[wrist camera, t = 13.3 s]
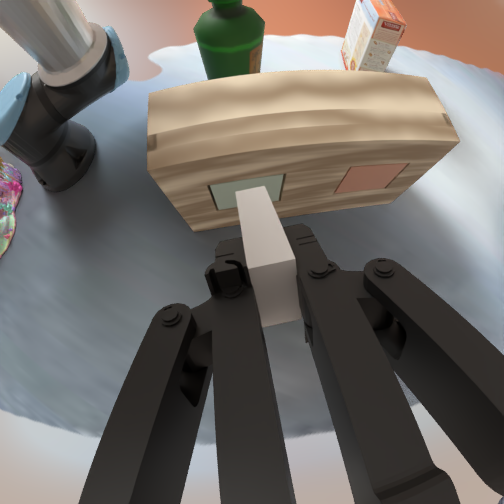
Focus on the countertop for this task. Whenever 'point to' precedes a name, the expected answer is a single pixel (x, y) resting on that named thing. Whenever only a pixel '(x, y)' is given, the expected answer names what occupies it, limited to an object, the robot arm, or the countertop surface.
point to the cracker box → (372, 35)
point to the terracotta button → (368, 177)
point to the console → (292, 138)
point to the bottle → (230, 39)
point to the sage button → (227, 195)
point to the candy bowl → (8, 203)
